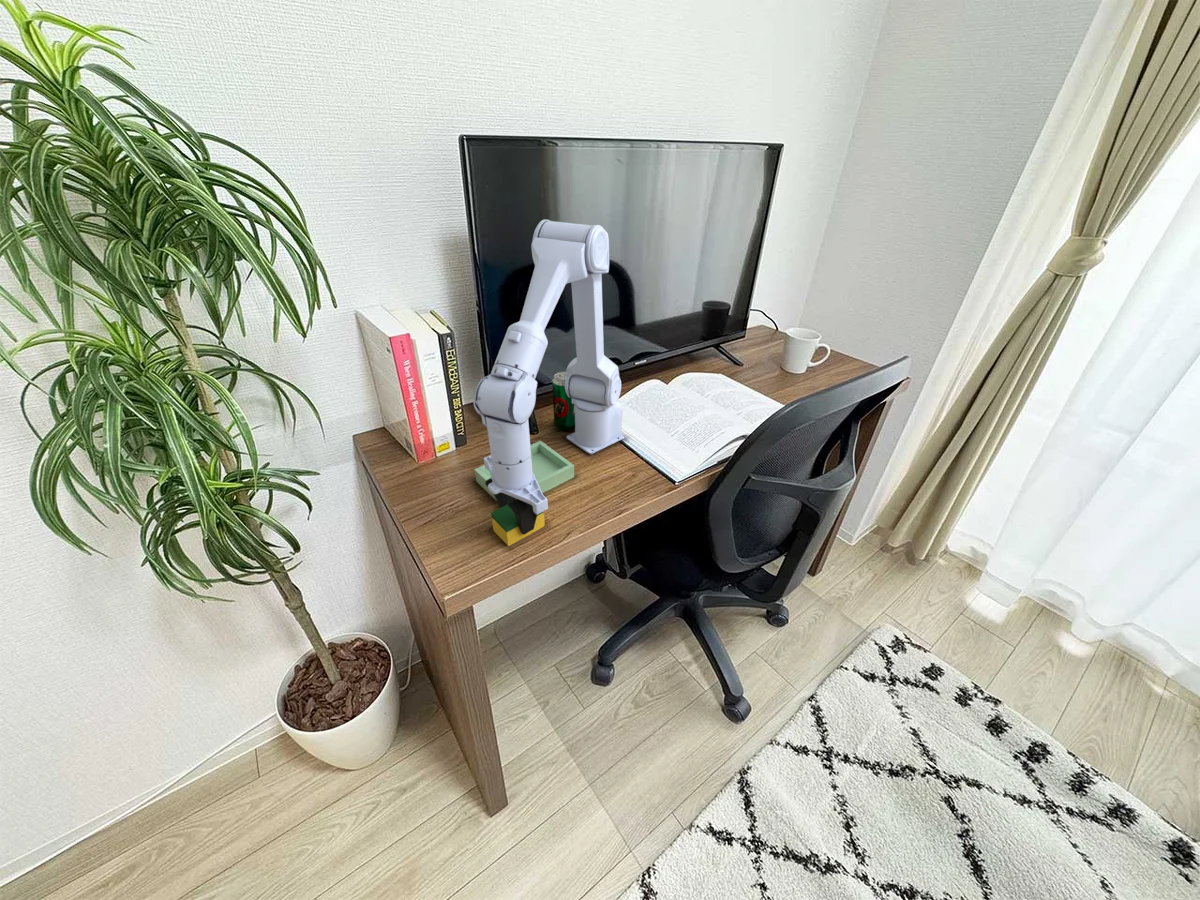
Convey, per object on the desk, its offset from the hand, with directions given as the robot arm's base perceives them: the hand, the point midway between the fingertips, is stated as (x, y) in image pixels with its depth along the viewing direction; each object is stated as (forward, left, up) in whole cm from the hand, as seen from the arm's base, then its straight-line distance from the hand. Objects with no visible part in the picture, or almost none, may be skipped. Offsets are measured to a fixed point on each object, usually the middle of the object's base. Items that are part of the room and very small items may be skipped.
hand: (518, 522), depth 76 cm
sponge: (0, 0, -1) cm, 1 cm away
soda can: (-25, -20, -2) cm, 32 cm away
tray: (-8, -10, -1) cm, 13 cm away
